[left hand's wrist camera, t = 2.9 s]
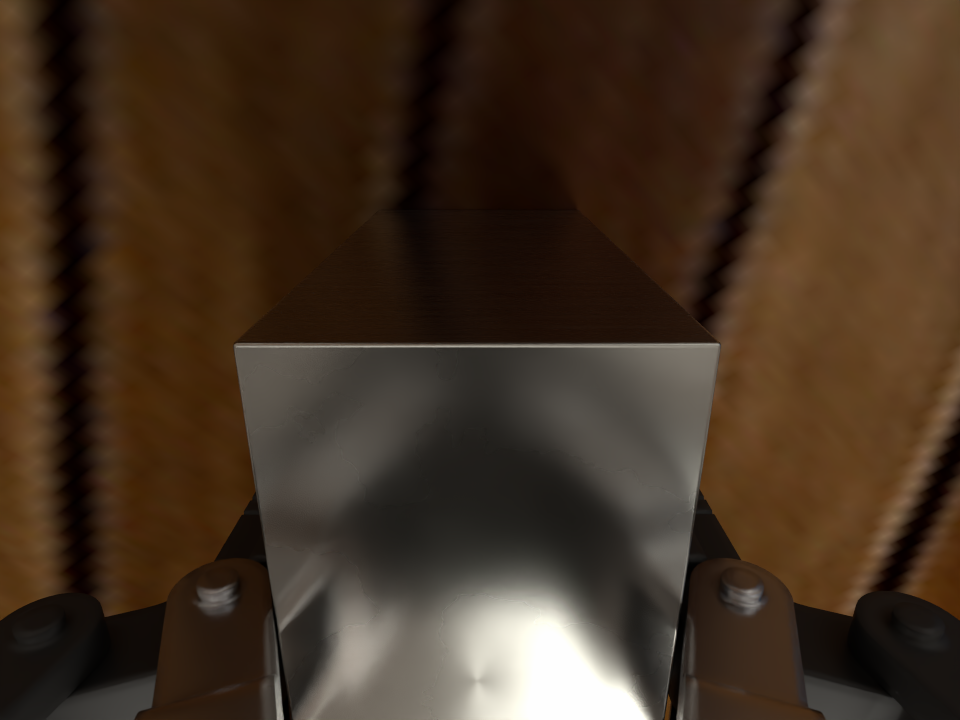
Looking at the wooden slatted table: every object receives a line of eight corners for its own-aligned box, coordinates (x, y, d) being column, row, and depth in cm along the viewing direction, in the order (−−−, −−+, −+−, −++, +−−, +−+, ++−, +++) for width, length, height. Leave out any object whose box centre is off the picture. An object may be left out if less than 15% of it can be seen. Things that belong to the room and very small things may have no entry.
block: (396, 521, 18) (318, 901, 10) (378, 209, 15) (230, 343, 6) (561, 520, 19) (637, 900, 10) (579, 209, 15) (723, 343, 6)
